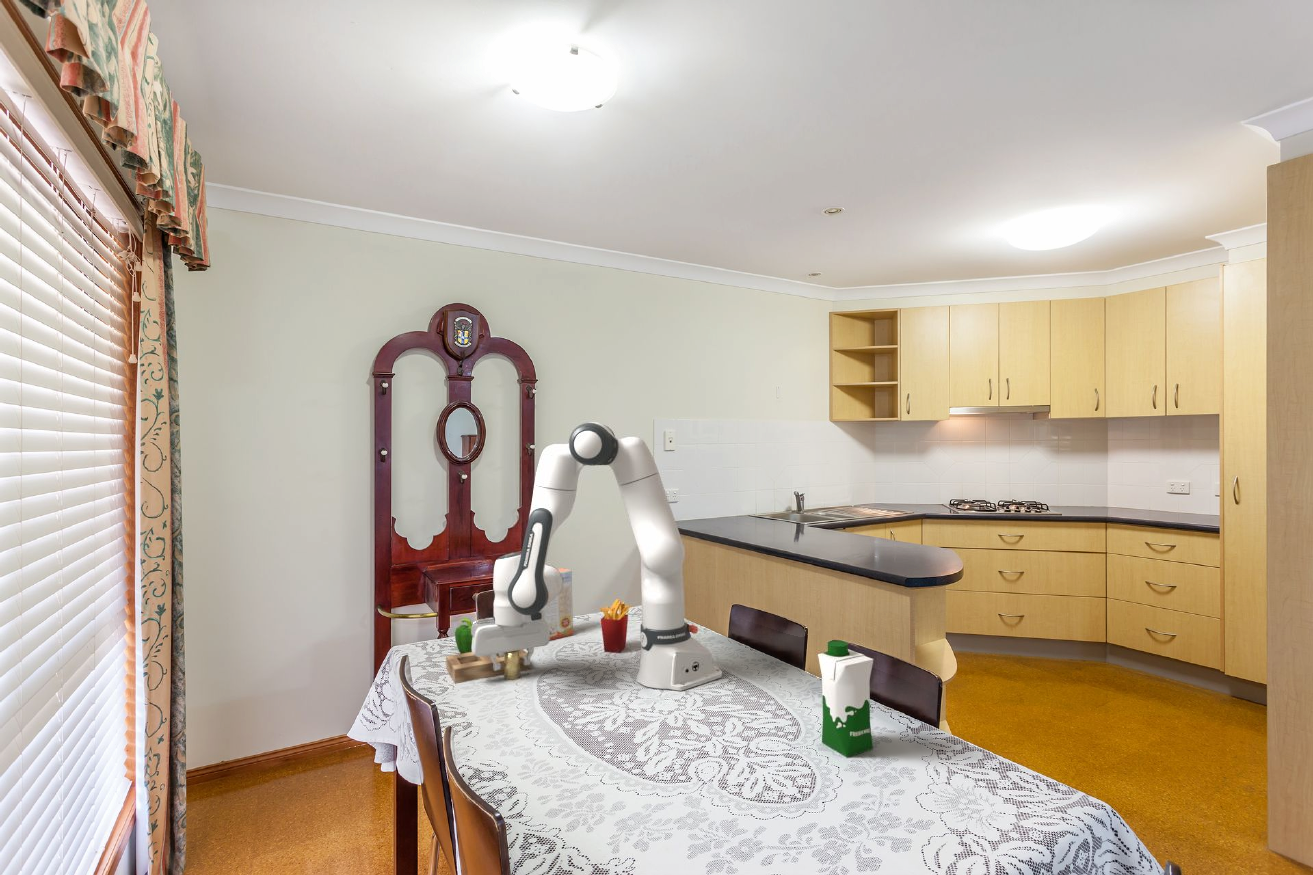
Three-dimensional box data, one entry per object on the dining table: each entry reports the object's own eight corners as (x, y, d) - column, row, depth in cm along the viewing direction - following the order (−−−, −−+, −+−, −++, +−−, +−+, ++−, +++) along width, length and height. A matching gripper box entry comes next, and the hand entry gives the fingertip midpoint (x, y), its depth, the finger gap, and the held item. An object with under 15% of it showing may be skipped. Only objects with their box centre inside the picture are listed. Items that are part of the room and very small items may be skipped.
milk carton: (847, 732, 138) (845, 636, 138) (880, 750, 130) (878, 648, 130) (815, 741, 134) (813, 643, 134) (847, 760, 126) (845, 656, 126)
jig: (517, 656, 190) (517, 639, 190) (530, 669, 179) (530, 650, 179) (446, 669, 181) (446, 651, 181) (455, 683, 170) (454, 663, 170)
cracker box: (564, 631, 215) (563, 567, 215) (573, 635, 210) (572, 569, 210) (525, 639, 206) (524, 573, 206) (534, 644, 201) (533, 576, 201)
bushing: (517, 673, 176) (517, 647, 176) (521, 678, 173) (521, 651, 173) (502, 676, 174) (502, 650, 174) (506, 681, 171) (506, 654, 171)
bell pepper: (491, 651, 196) (490, 617, 196) (470, 659, 189) (469, 624, 189) (471, 646, 200) (471, 613, 200) (450, 654, 193) (449, 620, 193)
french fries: (600, 652, 192) (599, 601, 192) (610, 644, 200) (609, 594, 200) (628, 654, 190) (627, 603, 190) (637, 646, 198) (636, 596, 198)
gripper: (473, 623, 166) (474, 678, 166) (551, 612, 175) (552, 663, 175) (468, 617, 171) (469, 670, 171) (543, 606, 181) (544, 657, 181)
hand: (511, 667), depth 173 cm, fingers open, 6 cm apart
